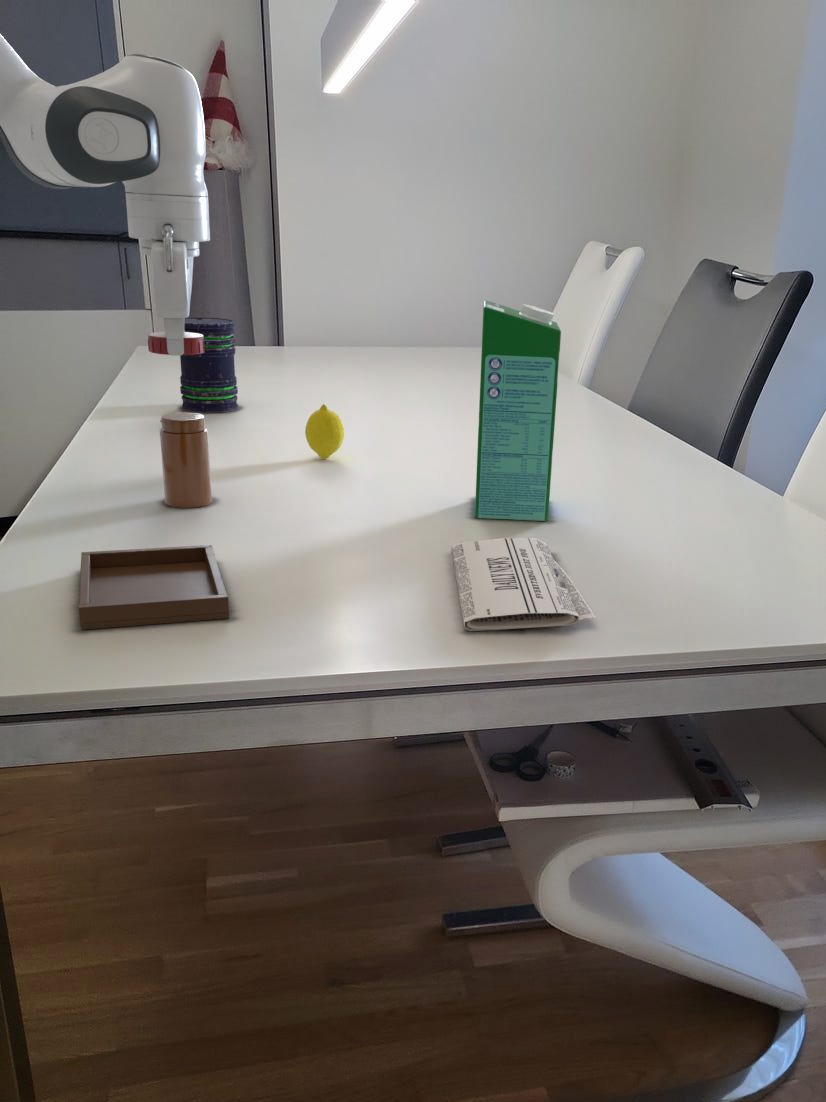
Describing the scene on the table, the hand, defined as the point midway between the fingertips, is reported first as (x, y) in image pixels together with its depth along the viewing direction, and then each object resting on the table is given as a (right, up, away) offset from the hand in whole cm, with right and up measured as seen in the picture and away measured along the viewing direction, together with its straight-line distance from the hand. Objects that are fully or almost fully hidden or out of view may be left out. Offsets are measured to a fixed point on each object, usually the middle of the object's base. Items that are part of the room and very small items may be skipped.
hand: (176, 350), depth 121 cm
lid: (0, +1, -1) cm, 1 cm away
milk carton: (+40, -18, +10) cm, 45 cm away
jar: (-1, -17, +7) cm, 18 cm away
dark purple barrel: (-13, +7, +63) cm, 65 cm away
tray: (+4, -30, -23) cm, 38 cm away
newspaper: (+39, -29, -17) cm, 52 cm away
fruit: (+13, -8, +31) cm, 34 cm away
